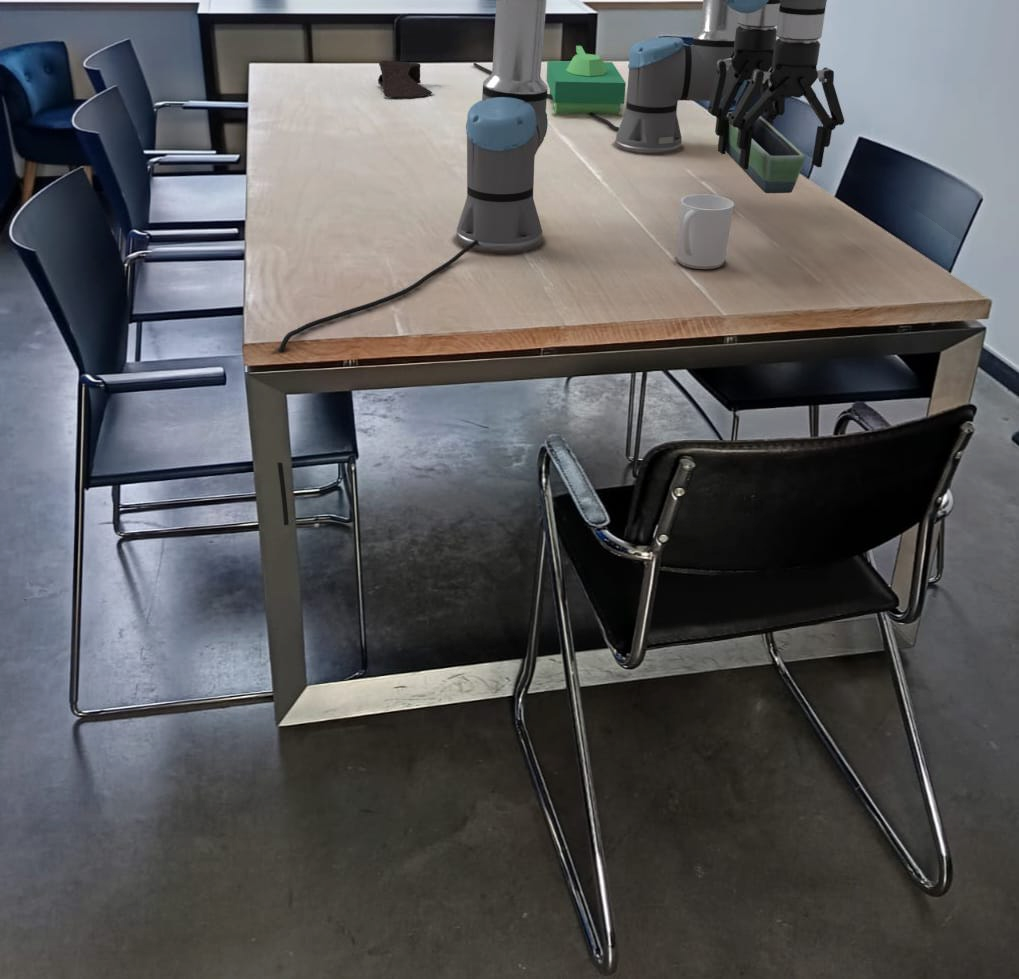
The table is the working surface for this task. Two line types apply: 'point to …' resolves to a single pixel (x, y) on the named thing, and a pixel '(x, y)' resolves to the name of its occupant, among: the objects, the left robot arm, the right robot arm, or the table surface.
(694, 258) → the mug
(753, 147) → the planter
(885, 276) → the table surface
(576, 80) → the toy tank
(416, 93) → the axe head
